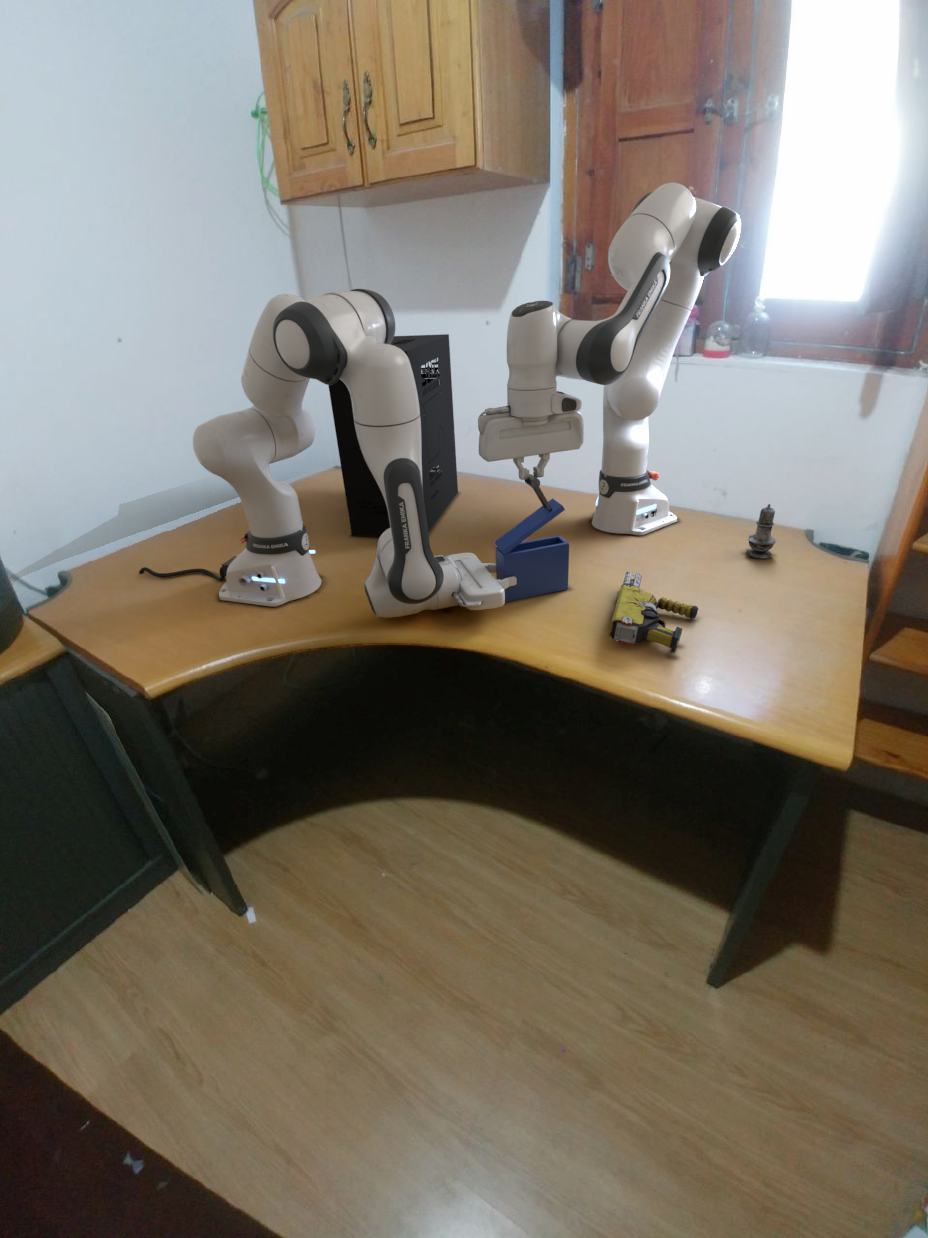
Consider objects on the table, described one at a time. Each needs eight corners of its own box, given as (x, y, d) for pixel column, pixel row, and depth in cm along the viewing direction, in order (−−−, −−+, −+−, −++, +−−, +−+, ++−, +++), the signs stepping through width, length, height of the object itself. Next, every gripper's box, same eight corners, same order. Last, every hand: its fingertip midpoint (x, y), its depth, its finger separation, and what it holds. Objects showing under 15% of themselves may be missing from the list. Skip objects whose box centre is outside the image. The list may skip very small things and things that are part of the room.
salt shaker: (775, 559, 136) (787, 508, 130) (747, 558, 137) (757, 508, 131) (769, 548, 141) (780, 499, 135) (742, 548, 142) (752, 499, 136)
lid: (555, 502, 123) (534, 466, 118) (565, 509, 119) (544, 473, 114) (496, 546, 124) (473, 512, 119) (504, 554, 120) (481, 520, 115)
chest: (558, 579, 133) (559, 534, 127) (567, 589, 129) (569, 543, 123) (496, 592, 129) (495, 546, 124) (504, 602, 125) (503, 555, 120)
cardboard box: (424, 538, 157) (407, 351, 135) (351, 535, 162) (323, 353, 139) (457, 492, 189) (448, 334, 166) (396, 490, 193) (379, 336, 171)
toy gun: (700, 582, 122) (625, 568, 126) (700, 638, 102) (611, 620, 106) (695, 602, 124) (621, 588, 128) (693, 661, 104) (606, 643, 108)
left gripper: (460, 593, 112) (529, 580, 115) (432, 552, 129) (492, 542, 132) (462, 623, 115) (529, 609, 118) (434, 579, 132) (493, 568, 135)
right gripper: (483, 412, 104) (486, 490, 111) (589, 399, 109) (585, 474, 116) (471, 406, 109) (475, 480, 116) (573, 394, 114) (571, 466, 121)
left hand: (509, 573), depth 125 cm, fingers closed on chest, 5 cm apart
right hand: (531, 477), depth 116 cm, fingers closed
